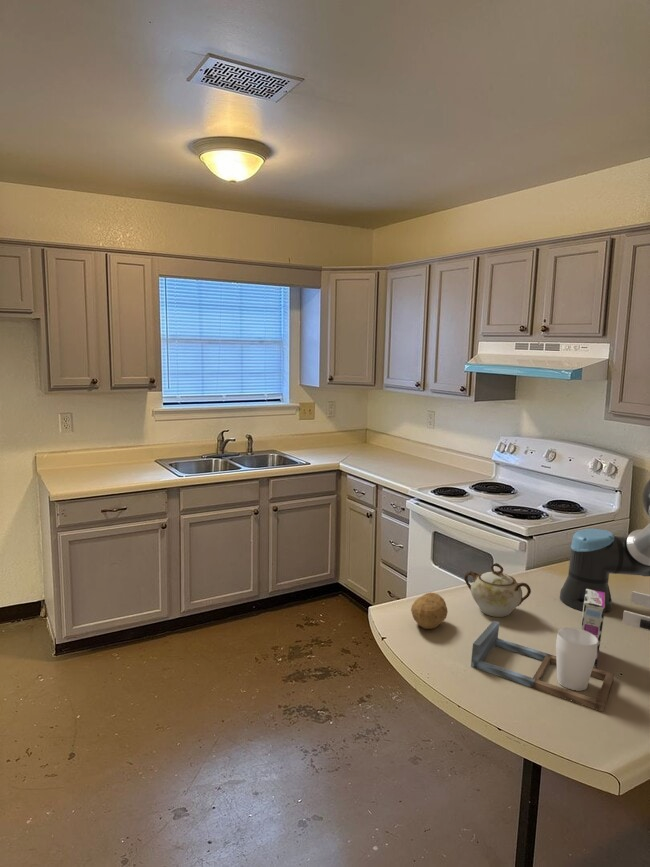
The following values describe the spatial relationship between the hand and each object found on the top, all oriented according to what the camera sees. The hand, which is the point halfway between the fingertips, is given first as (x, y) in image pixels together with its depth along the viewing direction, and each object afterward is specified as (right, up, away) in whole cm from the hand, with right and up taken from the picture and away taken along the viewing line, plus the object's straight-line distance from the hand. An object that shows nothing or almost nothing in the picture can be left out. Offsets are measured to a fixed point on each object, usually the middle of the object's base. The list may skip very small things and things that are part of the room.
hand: (627, 606), depth 132 cm
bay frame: (-15, -20, +12) cm, 28 cm away
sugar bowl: (-17, -15, +46) cm, 51 cm away
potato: (-39, -16, +34) cm, 54 cm away
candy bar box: (+1, -20, +21) cm, 29 cm away
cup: (-9, -21, +8) cm, 24 cm away
